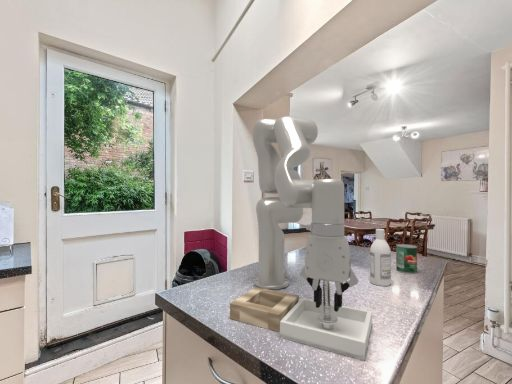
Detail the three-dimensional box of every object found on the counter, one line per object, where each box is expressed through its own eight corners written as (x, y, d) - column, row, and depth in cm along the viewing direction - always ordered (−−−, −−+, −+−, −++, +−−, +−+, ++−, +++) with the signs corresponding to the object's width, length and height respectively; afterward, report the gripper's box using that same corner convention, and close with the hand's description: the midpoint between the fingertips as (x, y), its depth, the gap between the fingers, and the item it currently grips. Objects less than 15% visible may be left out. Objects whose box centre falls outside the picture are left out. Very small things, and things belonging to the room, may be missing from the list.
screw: (333, 321, 65) (341, 331, 60) (314, 322, 65) (321, 333, 60) (331, 269, 65) (339, 274, 61) (313, 270, 65) (319, 276, 60)
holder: (255, 300, 81) (255, 287, 81) (298, 309, 74) (298, 295, 74) (229, 318, 69) (229, 303, 69) (279, 332, 62) (279, 314, 62)
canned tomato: (399, 267, 118) (399, 243, 119) (419, 271, 113) (419, 245, 113) (393, 271, 113) (393, 245, 113) (414, 275, 107) (414, 248, 107)
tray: (302, 310, 74) (302, 297, 74) (371, 325, 65) (371, 311, 65) (279, 337, 60) (279, 321, 60) (364, 361, 51) (364, 342, 51)
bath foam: (393, 283, 97) (393, 229, 97) (387, 288, 92) (387, 230, 92) (373, 279, 102) (373, 227, 102) (367, 283, 97) (367, 229, 97)
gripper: (289, 230, 63) (289, 306, 63) (363, 235, 56) (363, 322, 55) (299, 226, 70) (299, 295, 70) (366, 231, 62) (367, 308, 62)
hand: (327, 306), depth 62 cm, fingers open, 3 cm apart
